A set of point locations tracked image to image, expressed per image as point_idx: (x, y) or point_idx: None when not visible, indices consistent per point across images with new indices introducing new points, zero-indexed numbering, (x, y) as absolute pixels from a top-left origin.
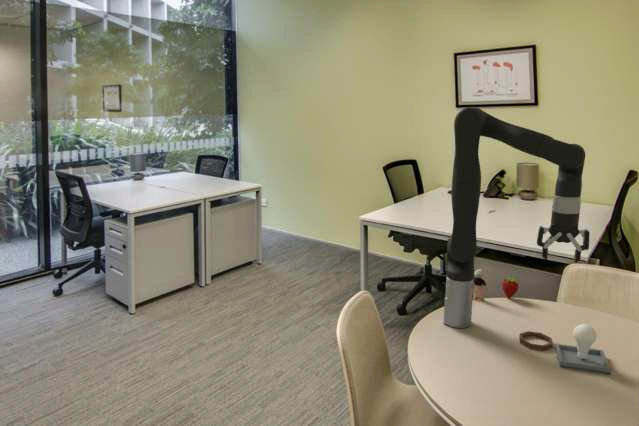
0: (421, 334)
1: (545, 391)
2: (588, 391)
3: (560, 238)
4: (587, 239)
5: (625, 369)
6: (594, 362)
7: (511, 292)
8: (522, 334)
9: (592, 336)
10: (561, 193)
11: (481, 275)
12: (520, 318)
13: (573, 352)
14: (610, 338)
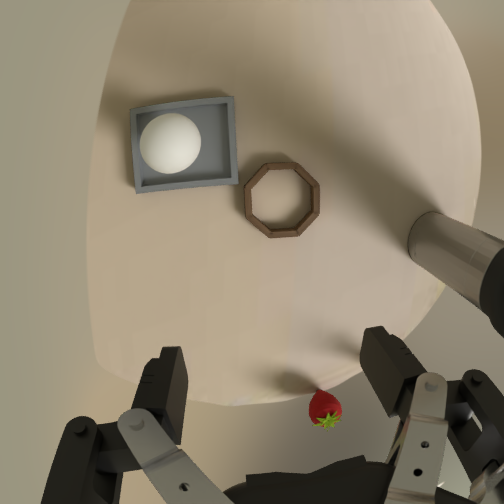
0: (475, 165)
1: (267, 7)
2: (186, 32)
3: (350, 499)
4: (57, 498)
5: (104, 151)
6: None
7: (322, 394)
8: (313, 212)
9: (152, 120)
10: None
11: None
12: (306, 314)
13: (198, 170)
14: (124, 286)
